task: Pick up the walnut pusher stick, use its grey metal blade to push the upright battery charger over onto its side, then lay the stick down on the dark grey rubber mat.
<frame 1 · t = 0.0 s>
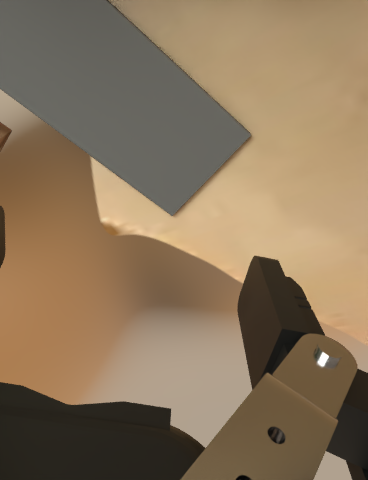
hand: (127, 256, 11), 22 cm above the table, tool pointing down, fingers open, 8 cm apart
tool mat: (98, 85, 30), on the table
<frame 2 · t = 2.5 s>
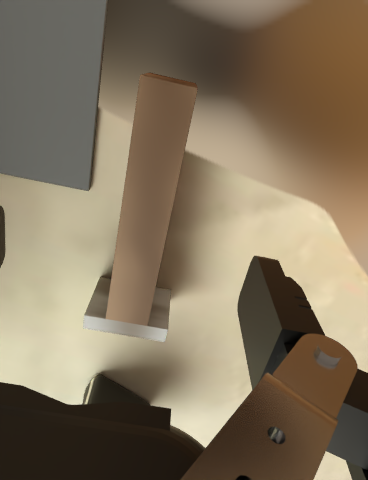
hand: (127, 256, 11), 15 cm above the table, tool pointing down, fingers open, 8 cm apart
pusher stick: (151, 194, 26), on the table
battery charger: (115, 395, 36), on the table
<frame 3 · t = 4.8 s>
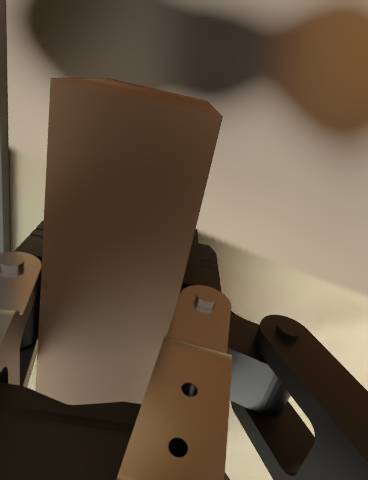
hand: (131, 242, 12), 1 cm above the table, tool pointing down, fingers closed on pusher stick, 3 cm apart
pusher stick: (122, 305, 14), on the table, touching gripper
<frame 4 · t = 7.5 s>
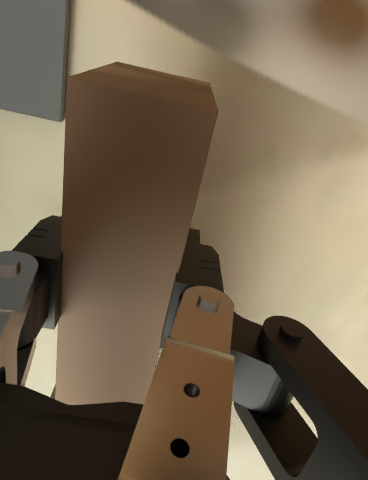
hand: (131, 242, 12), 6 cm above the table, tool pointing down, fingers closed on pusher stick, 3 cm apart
pusher stick: (131, 272, 15), point 4 cm above the table, touching gripper
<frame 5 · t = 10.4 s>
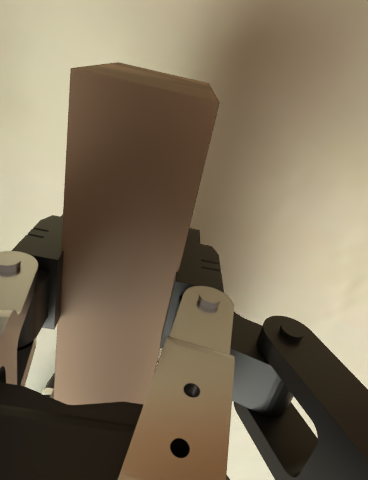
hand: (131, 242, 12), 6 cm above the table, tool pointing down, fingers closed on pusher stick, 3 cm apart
pusher stick: (130, 274, 15), point 4 cm above the table, touching battery charger, gripper
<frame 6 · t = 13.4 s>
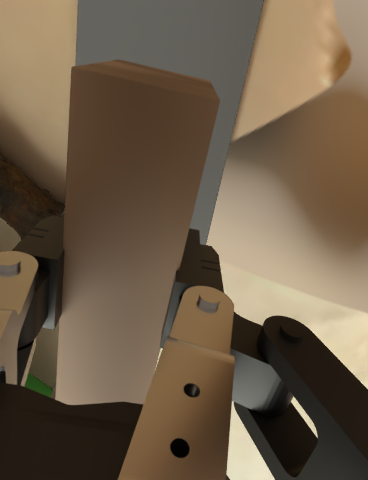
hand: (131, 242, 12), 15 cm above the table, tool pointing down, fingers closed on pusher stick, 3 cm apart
tool mat: (148, 163, 26), on the table
pusher stick: (131, 271, 15), point 13 cm above the table, touching gripper
when the fingers open (3 cm above the table, at t = 16.3 s): pusher stick stays where it is, resting on tool mat.
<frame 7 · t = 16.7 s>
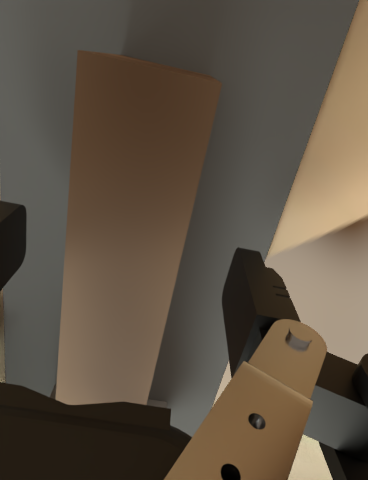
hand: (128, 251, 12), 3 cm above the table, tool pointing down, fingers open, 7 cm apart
tool mat: (129, 284, 16), on the table
pusher stick: (132, 267, 15), resting on tool mat
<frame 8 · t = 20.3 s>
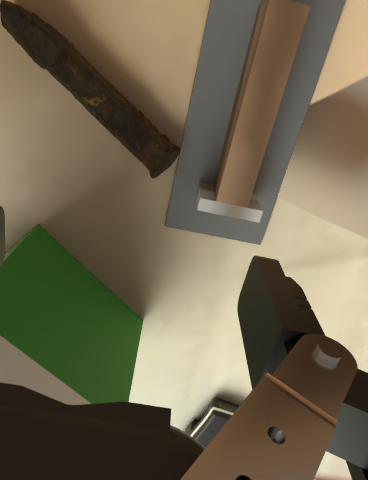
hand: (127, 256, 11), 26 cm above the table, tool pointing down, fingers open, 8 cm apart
hardback book: (74, 290, 44), on the table
tool mat: (243, 120, 34), on the table
dark brown bar: (96, 93, 34), on the table
pusher stick: (248, 108, 33), resting on tool mat
battery charger: (233, 407, 51), point 1 cm above the table
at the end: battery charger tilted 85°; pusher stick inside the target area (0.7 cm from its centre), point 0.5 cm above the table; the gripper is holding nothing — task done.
